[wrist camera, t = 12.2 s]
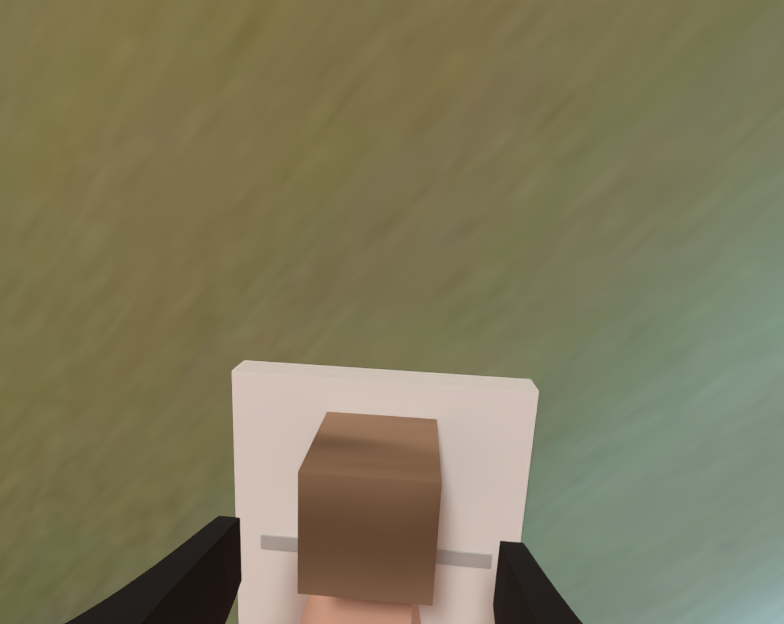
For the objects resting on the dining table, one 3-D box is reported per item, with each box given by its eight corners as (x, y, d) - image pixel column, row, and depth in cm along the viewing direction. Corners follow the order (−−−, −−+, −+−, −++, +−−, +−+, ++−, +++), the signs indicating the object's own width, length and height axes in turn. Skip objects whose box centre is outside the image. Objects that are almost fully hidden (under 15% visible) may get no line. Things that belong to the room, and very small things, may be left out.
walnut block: (429, 516, 17) (432, 605, 13) (325, 508, 17) (297, 593, 13) (436, 419, 16) (442, 483, 12) (327, 411, 16) (297, 472, 13)
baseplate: (530, 379, 17) (539, 391, 16) (495, 678, 20) (500, 709, 19) (244, 360, 18) (230, 371, 16) (250, 654, 20) (239, 682, 19)
